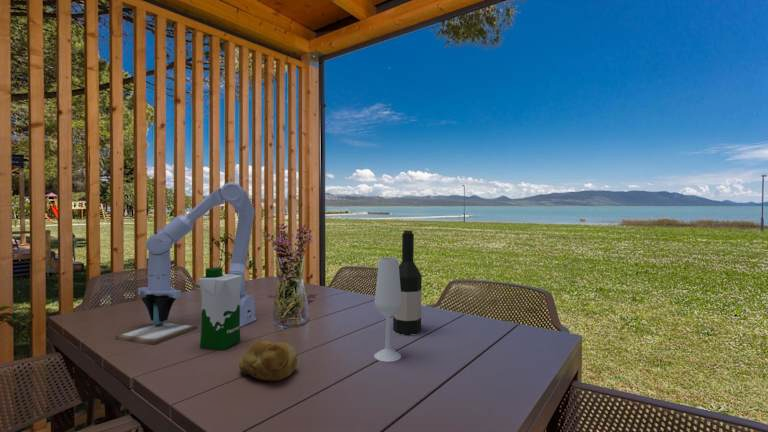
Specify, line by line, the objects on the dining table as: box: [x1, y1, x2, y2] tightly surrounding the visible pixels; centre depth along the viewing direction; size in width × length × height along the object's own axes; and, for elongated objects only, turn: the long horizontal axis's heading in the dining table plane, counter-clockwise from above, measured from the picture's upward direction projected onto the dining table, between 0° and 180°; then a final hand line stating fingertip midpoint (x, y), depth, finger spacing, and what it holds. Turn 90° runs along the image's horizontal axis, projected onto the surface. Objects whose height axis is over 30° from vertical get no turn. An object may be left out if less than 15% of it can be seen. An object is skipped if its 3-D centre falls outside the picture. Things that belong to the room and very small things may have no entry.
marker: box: [152, 303, 166, 326], centre depth 106 cm, size 3×3×6 cm
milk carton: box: [198, 267, 242, 351], centre depth 95 cm, size 9×9×20 cm
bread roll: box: [238, 340, 298, 382], centre depth 78 cm, size 13×10×8 cm
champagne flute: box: [373, 256, 402, 363], centre depth 88 cm, size 7×7×24 cm
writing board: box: [114, 321, 198, 346], centre depth 103 cm, size 14×14×1 cm
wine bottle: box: [392, 230, 423, 336], centre depth 107 cm, size 8×8×30 cm
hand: (159, 320), depth 106 cm, fingers closed on marker, 3 cm apart
